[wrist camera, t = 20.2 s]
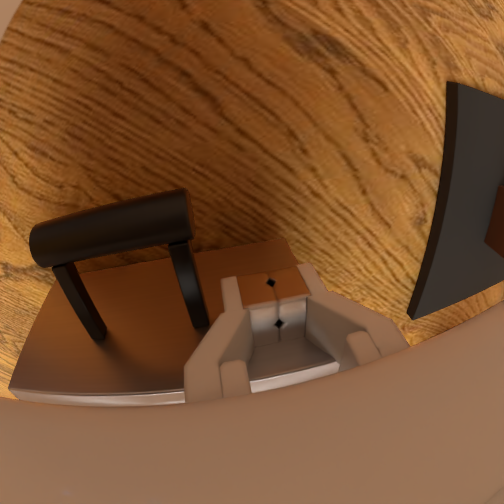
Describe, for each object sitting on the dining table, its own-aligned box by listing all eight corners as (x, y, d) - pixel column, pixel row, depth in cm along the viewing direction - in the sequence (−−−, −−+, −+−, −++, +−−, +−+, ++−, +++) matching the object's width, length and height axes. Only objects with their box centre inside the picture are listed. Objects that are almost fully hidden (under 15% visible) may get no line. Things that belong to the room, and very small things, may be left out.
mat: (446, 81, 11) (458, 82, 10) (544, 120, 13) (551, 123, 12) (406, 312, 21) (412, 320, 20) (510, 269, 23) (515, 274, 22)
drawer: (23, 199, 10) (-67, 294, 4) (279, 140, 11) (376, 210, 5) (140, 402, 20) (139, 481, 14) (286, 382, 21) (311, 462, 15)
